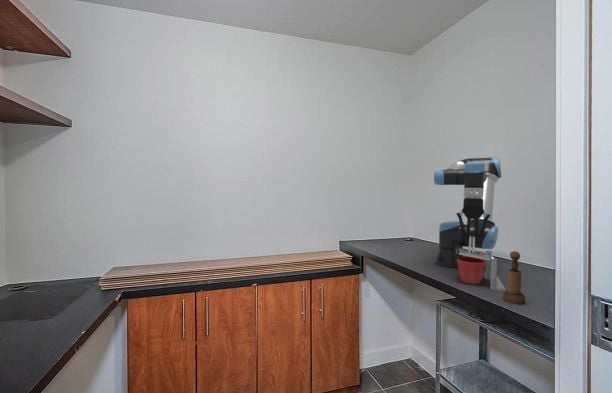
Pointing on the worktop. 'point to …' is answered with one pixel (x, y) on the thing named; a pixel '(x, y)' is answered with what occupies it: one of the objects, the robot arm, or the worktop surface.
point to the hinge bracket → (493, 275)
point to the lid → (474, 254)
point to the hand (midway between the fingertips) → (471, 251)
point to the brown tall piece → (514, 282)
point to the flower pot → (470, 269)
